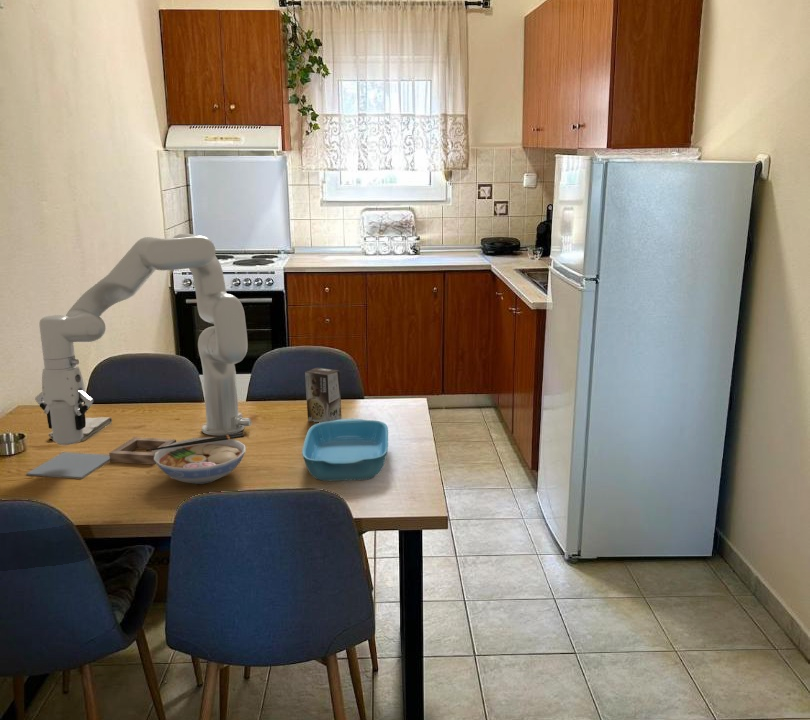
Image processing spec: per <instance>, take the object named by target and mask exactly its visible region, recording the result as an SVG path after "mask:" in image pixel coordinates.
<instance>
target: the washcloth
mask: <svg viewBox="0 0 810 720" xmlns="http://www.w3.org/2000/svg"><path fill="white" fill-rule="evenodd" d="M85 420H86V426H85V427H84V428H83V436H84V437H83V438H82V439H81V440H80V441H79V442H84V441H86V440H89V439H90V438H92V437H94V436H95V435H97V434H98V433H100V432H101V431H102V429H103V430H105V428H106V427H105V426H107V427H108V425H109V426H110V425H112V422H113V419H112V417H108V416H107V417H104V416H100V417H85ZM100 430H101V431H100ZM99 431H100V432H99ZM93 435H94V436H93ZM48 437H50V438H49V439H53V433H52V431H50V432H49V434H48Z"/></svg>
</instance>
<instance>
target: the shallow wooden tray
mask: <svg viewBox="0 0 810 720" xmlns="http://www.w3.org/2000/svg"><path fill="white" fill-rule="evenodd" d="M175 442H177V439H172V438H168V439H167V438H152V437H137V436H136V437H135V436H133V437H132V438H131V439H129V440H128V441H126V442H124V443H123V444H121V445H119V446H118V447H116V448H115V449H113V450H112V451H110V452H109V453H108V455H109V456H110V461H109V462H111V463H123V464H124V463H127V464H144V465H156V462H155V460H154V456H155V453H156V452H157V451H158V450H152V451H150V452H149V451H145V452H144V451H137V449H143V450H149V449H154V448H160V447H164V446H167V445H170V444H173V443H175ZM135 450H136V451H135ZM159 450H160V449H159ZM132 451H133V452H132Z"/></svg>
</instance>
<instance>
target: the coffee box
mask: <svg viewBox="0 0 810 720" xmlns="http://www.w3.org/2000/svg"><path fill="white" fill-rule="evenodd" d="M340 373H341V371H340V370H338V369H330V368H326V367H325V368H324V367H315V368H312V369H309V370H307V371H304V374H305V375H304V377H305V378H304V379H305V380H304V381H305V392H306V396H305V397H306V411H307V421H308V422H310V421H314V422H313V423H315V422H320V423H321V422H328V421H334V420H340V419H343V417H342V402H341V401H342V400H341V398H342V397H341V394H342V393H341V374H340Z"/></svg>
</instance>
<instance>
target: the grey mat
mask: <svg viewBox="0 0 810 720" xmlns="http://www.w3.org/2000/svg"><path fill="white" fill-rule="evenodd" d="M109 462H110V456H109V454H98V453H81V452H67V451H66V452H65V451H64V452H61V453H59V454H58V455H56V456H54V457H52V458H51V459H49V460H47V461H45V462H44V463H42V464H40V465H39V466H37V467H34V468H33V469H31V470H29V471H28V472H26V476H34V477H35V476H36V477H48V478H49V477H50V478H51V477H52V478H63V479H64V478H65V479H80V480H81V479H82V480H83V479H84V478H85V477H87V476H89V475H90V474H92V473H94V472H95V471H96V470H98V469H100V468H101V467H102V466H105V464H107V463H109Z"/></svg>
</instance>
